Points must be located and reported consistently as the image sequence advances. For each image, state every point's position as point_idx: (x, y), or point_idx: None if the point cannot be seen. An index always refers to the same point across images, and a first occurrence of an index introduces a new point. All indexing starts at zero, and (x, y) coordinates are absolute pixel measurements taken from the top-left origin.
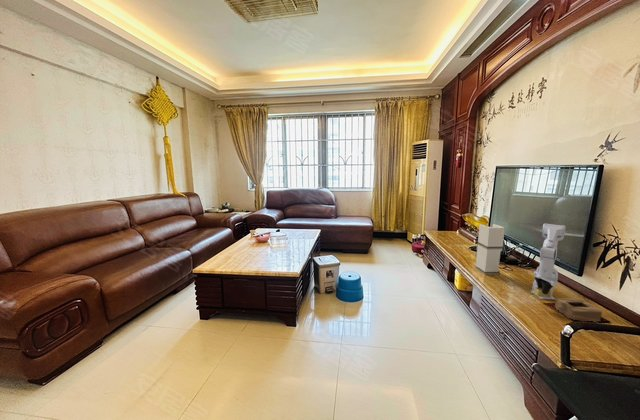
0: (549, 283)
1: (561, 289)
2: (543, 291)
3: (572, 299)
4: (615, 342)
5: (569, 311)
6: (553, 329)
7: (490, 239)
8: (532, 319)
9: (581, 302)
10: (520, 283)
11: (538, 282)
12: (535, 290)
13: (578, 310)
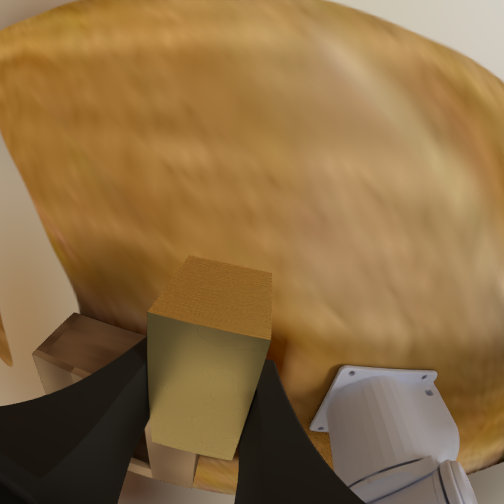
0: None
1: None
2: (129, 350)
3: (181, 465)
4: None
5: (76, 347)
6: (6, 126)
7: None
8: (80, 62)
9: (151, 466)
10: (499, 373)
11: (259, 476)
12: (248, 302)
13: (38, 371)
